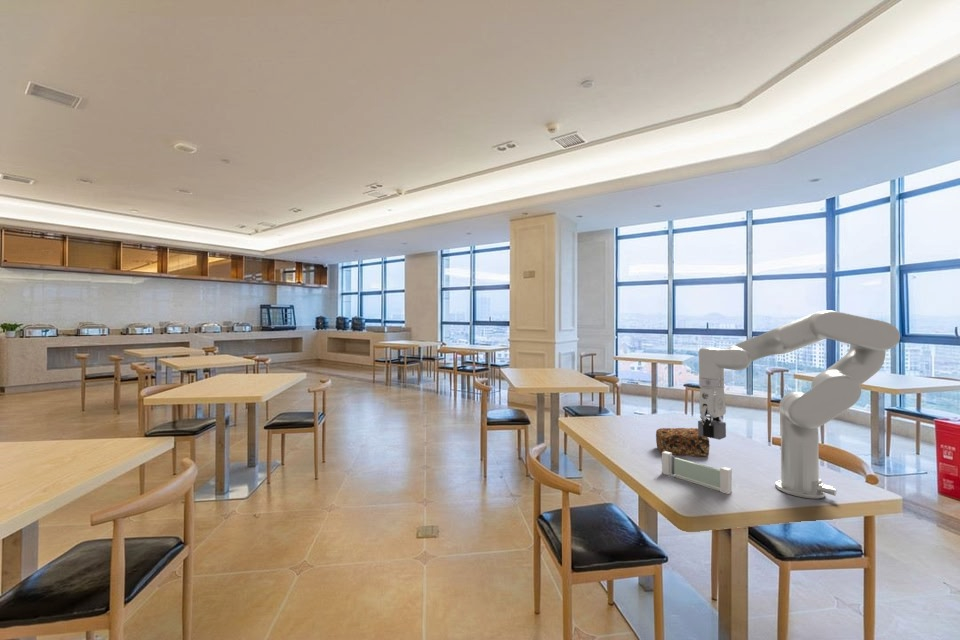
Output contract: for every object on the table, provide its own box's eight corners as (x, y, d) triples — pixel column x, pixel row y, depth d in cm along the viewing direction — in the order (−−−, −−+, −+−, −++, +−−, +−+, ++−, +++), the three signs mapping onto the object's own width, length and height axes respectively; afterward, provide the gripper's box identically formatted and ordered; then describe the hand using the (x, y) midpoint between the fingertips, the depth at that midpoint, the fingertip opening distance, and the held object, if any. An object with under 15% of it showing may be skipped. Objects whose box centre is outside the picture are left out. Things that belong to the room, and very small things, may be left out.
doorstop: (725, 436, 140) (725, 422, 140) (719, 439, 137) (719, 424, 137) (704, 432, 146) (704, 418, 146) (698, 435, 143) (698, 421, 143)
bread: (702, 450, 172) (702, 426, 172) (710, 458, 162) (710, 433, 162) (655, 447, 177) (655, 424, 177) (660, 455, 166) (659, 430, 166)
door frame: (731, 492, 130) (731, 468, 130) (728, 494, 128) (728, 470, 128) (665, 471, 147) (665, 451, 147) (662, 473, 146) (662, 452, 146)
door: (721, 488, 132) (721, 468, 132) (719, 489, 131) (719, 469, 131) (672, 473, 145) (672, 455, 145) (670, 474, 144) (670, 456, 144)
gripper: (711, 386, 134) (712, 442, 134) (733, 381, 144) (734, 433, 144) (688, 384, 140) (689, 437, 140) (711, 379, 150) (712, 429, 150)
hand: (712, 434), depth 142 cm, fingers closed on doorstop, 5 cm apart
